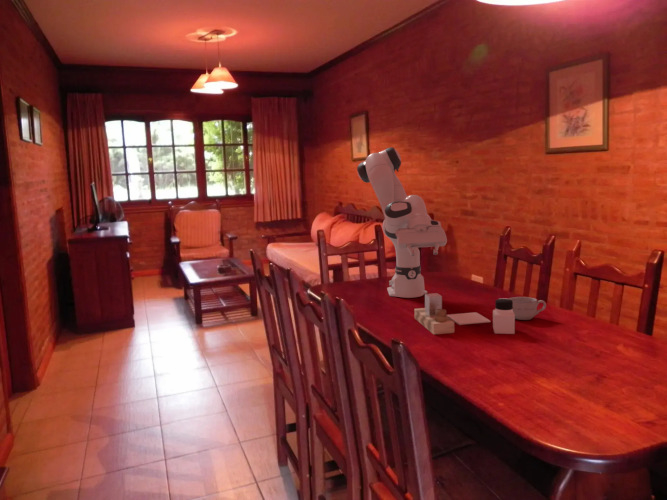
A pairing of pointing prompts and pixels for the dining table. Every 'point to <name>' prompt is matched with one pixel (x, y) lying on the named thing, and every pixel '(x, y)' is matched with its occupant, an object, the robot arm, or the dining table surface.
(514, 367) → the dining table surface
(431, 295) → the gray rectangular block
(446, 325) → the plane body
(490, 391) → the dining table surface
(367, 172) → the robot arm
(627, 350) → the dining table surface
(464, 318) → the off-white pad
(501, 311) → the medicine bottle
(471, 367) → the dining table surface
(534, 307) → the teacup
